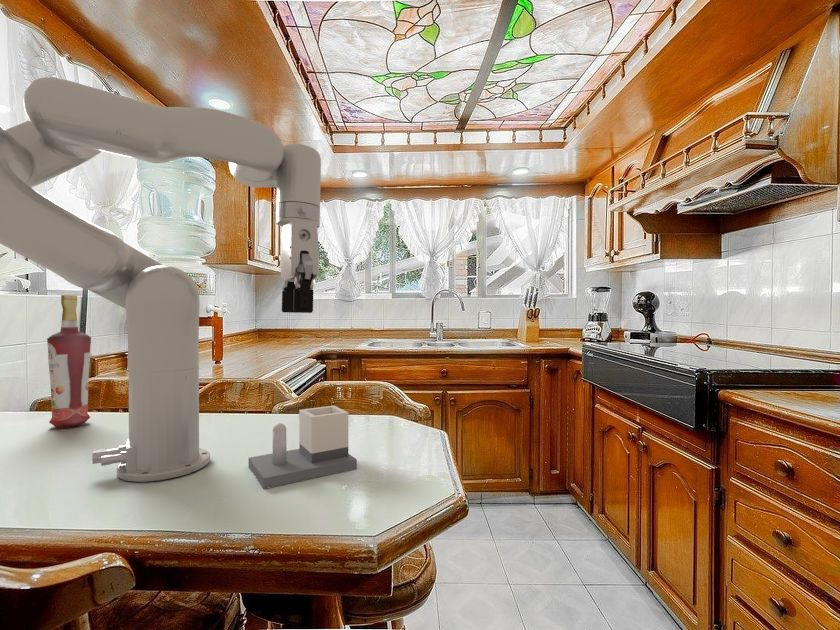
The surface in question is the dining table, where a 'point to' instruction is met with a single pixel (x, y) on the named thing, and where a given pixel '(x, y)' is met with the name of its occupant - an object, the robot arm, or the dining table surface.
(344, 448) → the sleeve
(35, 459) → the dining table surface
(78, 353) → the liquor
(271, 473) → the pin board
